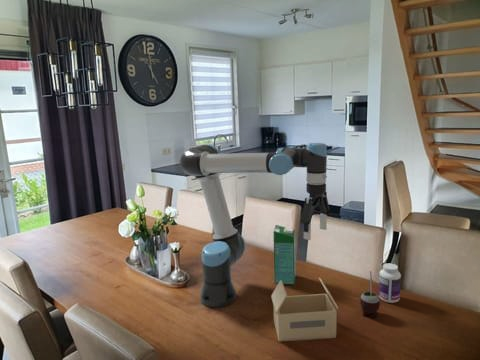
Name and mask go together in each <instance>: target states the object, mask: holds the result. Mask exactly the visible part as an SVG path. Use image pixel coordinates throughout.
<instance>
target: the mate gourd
mask: <svg viewBox="0 0 480 360" xmlns="http://www.w3.org/2000/svg"><path fill="white" fill-rule="evenodd" d="M372 275H373V274H372V271H371V270H370V271H369V277H370V278H369V282H370V283H369V285H370V287H369V288H370V291H365V292H363V293H362V294H361V295H360V299H359V300H360V302H359V303H360V307H361V309H362V313H363V314H362V317H366V316H371V317H372V318H373V319H376V318H377V316H376V315H377V312H378V310H379V309H380V305H381V300H380V297H379V294H377V293H375V292H373V277H372Z"/></svg>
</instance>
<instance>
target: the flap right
mask: <svg viewBox="0 0 480 360" xmlns="http://www.w3.org/2000/svg"><path fill="white" fill-rule="evenodd" d="M318 280H319V281H320V283H321V285H322V286H323V288H324V291H326V294H327V295H328V297H329V299H330V301H331V303H332V304H333V306H334V307H335V309H336V310H340V309H339V308H340V307H339V306H338V304H337V303H336V301H335V299H334V298H333V296H332V294H331V292H330V291H329V289H328V288H327V287H326V284H325V283H324V282H323V280H322V278H321V277H318Z"/></svg>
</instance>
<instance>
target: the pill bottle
mask: <svg viewBox="0 0 480 360" xmlns="http://www.w3.org/2000/svg"><path fill="white" fill-rule="evenodd" d="M401 281H402V274H401V273H400V271H399V267H398V265H397V264H394V263H390V262H389V263H384V264H383V266H382V269H381V270H380V271H379V281H378V282H379V283H378V297H379V300H380V299H381V300H382V301H383V302H385V303H391V304H394V303H397V302H399V301H400V300H401V285H402V283H401ZM381 300H380V301H381Z"/></svg>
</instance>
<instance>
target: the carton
mask: <svg viewBox="0 0 480 360" xmlns="http://www.w3.org/2000/svg"><path fill="white" fill-rule="evenodd" d="M337 315H338V314H337V309H336V307H335V305H334V303H333V302H332V300H331V298H330V297H329V295H328V294H327V293H317V294H315V293H314V294H313V293H312V294H299V295H298V294H297V295H287V297H286V298H285V300H284V302H283V303H282V305H281V307H280V309H279V310H278V312H277V313H275V309H274V308H273V323H274V327H275V328H274V329H275V331H276V335H277V340H278V342H292V341H293V342H294V341H307V340H310V341H311V340H323V339H335V338H337Z"/></svg>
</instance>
